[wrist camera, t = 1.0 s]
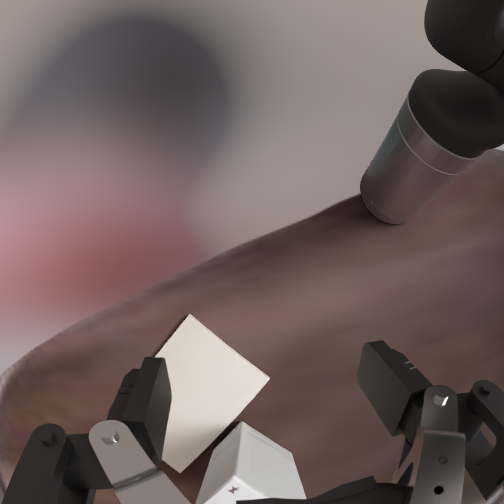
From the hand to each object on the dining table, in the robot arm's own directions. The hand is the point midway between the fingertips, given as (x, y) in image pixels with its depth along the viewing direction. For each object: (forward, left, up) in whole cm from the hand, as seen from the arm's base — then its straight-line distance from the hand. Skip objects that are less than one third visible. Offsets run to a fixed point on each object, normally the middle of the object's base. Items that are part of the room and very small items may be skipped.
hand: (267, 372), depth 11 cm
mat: (+12, -3, -23) cm, 26 cm away
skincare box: (+12, +8, -23) cm, 27 cm away
